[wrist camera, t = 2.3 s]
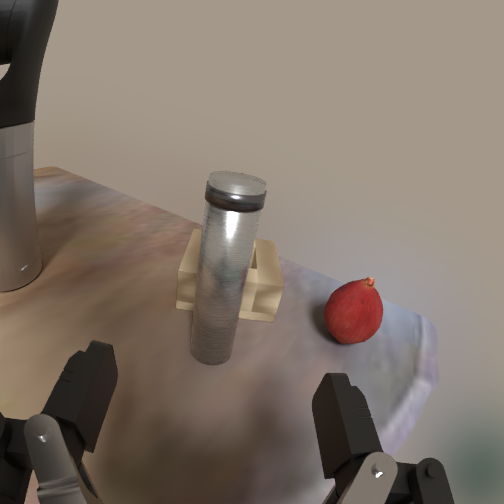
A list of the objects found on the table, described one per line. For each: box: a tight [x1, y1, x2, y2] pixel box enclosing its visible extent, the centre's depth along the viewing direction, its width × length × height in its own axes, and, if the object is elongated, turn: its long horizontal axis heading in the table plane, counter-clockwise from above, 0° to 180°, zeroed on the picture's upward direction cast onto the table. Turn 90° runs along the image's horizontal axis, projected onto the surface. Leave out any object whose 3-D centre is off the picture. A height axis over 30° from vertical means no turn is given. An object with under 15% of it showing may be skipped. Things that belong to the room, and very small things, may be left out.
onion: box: [324, 277, 383, 344], centre depth 27 cm, size 6×6×8 cm
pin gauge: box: [190, 171, 266, 365], centre depth 22 cm, size 4×4×15 cm
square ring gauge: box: [176, 229, 284, 322], centre depth 33 cm, size 10×10×4 cm
